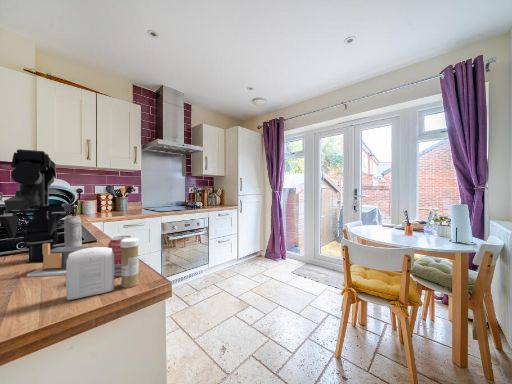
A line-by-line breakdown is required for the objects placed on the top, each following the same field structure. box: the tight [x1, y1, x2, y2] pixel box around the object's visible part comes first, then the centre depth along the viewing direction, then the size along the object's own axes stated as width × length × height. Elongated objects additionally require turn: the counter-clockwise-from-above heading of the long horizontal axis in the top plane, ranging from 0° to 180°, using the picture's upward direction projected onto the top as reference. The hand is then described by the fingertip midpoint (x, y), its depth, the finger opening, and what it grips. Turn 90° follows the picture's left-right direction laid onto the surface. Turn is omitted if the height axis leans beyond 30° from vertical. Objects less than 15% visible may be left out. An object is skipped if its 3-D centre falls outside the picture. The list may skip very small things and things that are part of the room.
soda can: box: [107, 235, 132, 278], centre depth 71 cm, size 7×7×12 cm
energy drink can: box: [63, 215, 83, 247], centre depth 98 cm, size 6×6×15 cm
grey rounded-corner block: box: [65, 246, 115, 301], centre depth 57 cm, size 10×4×12 cm, turn 123°
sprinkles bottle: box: [120, 237, 140, 289], centre depth 62 cm, size 5×5×14 cm
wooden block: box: [42, 243, 62, 269], centre depth 71 cm, size 5×1×8 cm, turn 98°
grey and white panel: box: [26, 245, 92, 278], centre depth 76 cm, size 18×13×7 cm
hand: (32, 236), depth 69 cm, fingers open, 9 cm apart
